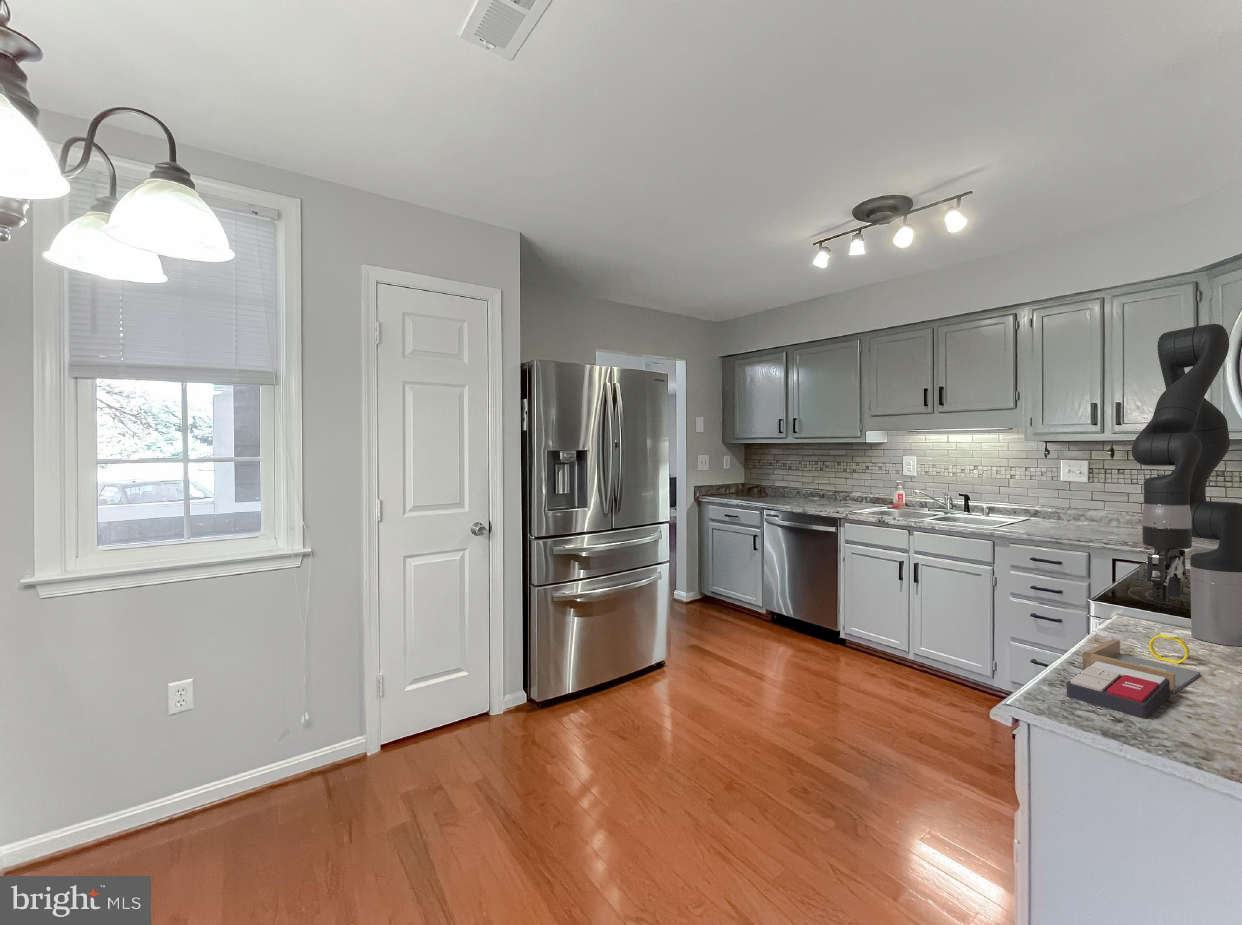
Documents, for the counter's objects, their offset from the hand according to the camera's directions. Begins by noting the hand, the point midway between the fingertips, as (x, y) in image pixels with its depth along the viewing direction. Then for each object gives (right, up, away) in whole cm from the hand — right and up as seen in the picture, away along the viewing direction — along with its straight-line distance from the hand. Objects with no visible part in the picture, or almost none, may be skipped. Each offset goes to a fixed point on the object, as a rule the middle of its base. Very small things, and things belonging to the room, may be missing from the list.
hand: (1167, 599), depth 116 cm
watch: (0, -14, 0) cm, 14 cm away
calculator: (-26, -15, -16) cm, 34 cm away
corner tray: (-11, -14, -6) cm, 19 cm away
